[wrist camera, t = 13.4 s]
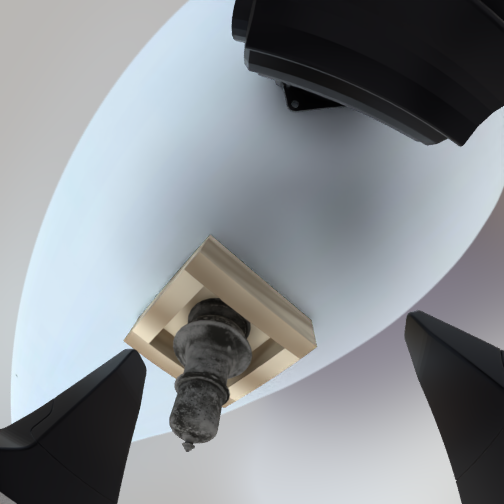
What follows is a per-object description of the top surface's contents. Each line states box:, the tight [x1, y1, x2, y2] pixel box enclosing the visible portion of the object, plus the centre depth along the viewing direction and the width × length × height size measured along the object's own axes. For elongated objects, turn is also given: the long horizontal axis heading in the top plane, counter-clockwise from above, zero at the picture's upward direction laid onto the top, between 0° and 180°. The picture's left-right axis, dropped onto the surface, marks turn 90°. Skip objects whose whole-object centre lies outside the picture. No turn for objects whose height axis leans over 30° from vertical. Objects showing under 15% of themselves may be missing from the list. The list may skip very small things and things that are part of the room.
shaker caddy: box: [124, 235, 317, 408], centre depth 22 cm, size 11×11×4 cm
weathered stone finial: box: [169, 298, 252, 452], centre depth 17 cm, size 6×6×12 cm
